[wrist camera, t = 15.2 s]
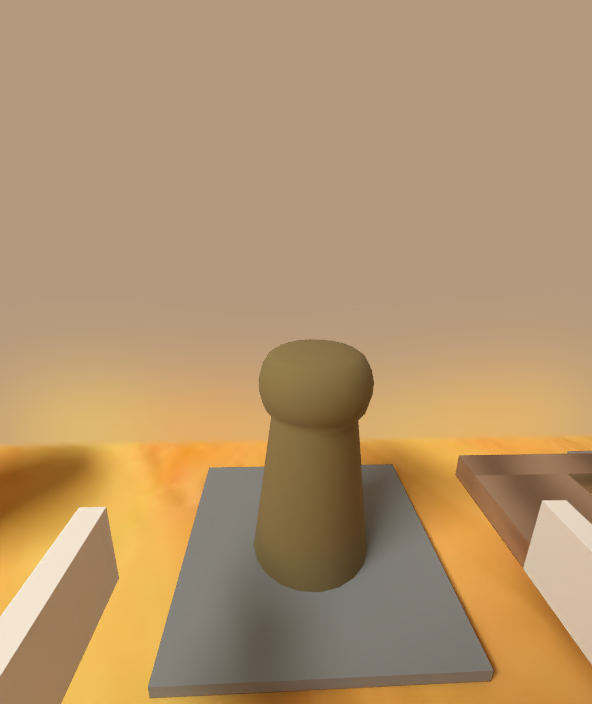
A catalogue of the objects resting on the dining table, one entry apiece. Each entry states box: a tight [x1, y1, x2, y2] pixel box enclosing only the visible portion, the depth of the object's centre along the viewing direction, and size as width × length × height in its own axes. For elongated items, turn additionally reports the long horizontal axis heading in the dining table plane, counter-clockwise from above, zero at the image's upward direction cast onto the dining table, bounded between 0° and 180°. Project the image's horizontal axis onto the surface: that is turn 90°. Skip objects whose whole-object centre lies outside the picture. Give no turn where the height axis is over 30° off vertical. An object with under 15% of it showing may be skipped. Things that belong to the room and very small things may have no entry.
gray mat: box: [148, 464, 494, 698], centre depth 20 cm, size 13×13×1 cm
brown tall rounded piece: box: [254, 340, 374, 592], centre depth 18 cm, size 6×6×11 cm
